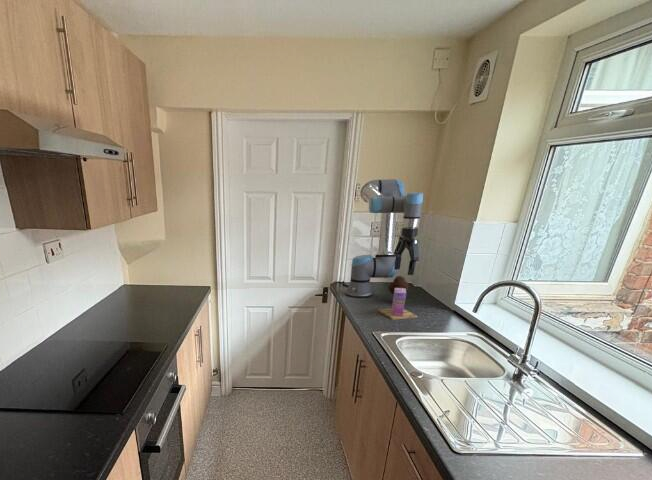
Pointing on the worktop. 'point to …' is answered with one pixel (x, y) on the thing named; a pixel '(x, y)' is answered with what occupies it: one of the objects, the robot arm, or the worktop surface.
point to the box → (398, 301)
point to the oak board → (405, 315)
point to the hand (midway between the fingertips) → (403, 272)
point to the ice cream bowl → (398, 284)
